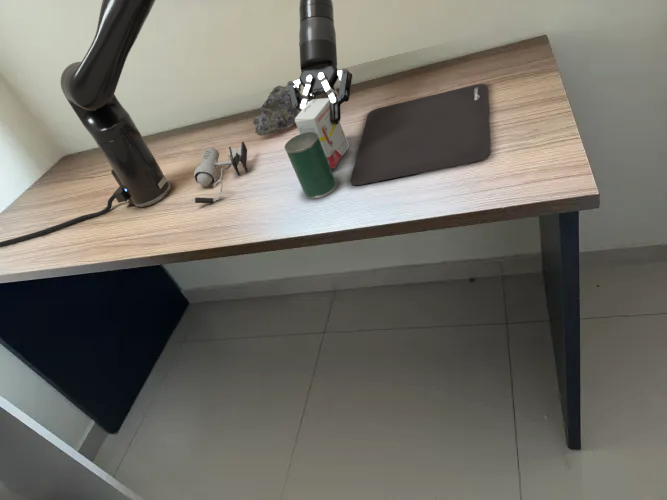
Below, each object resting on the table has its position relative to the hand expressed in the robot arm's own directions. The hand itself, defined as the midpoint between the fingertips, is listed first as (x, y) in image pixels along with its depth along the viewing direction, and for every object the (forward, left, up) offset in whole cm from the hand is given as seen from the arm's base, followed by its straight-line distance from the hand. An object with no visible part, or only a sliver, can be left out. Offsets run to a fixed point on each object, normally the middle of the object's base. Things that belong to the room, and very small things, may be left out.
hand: (321, 125), depth 129 cm
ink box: (0, -1, -8) cm, 8 cm away
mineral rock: (-19, +20, -8) cm, 29 cm away
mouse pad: (+18, +5, -8) cm, 21 cm away
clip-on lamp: (-27, -2, -8) cm, 28 cm away
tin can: (0, -11, -8) cm, 13 cm away
